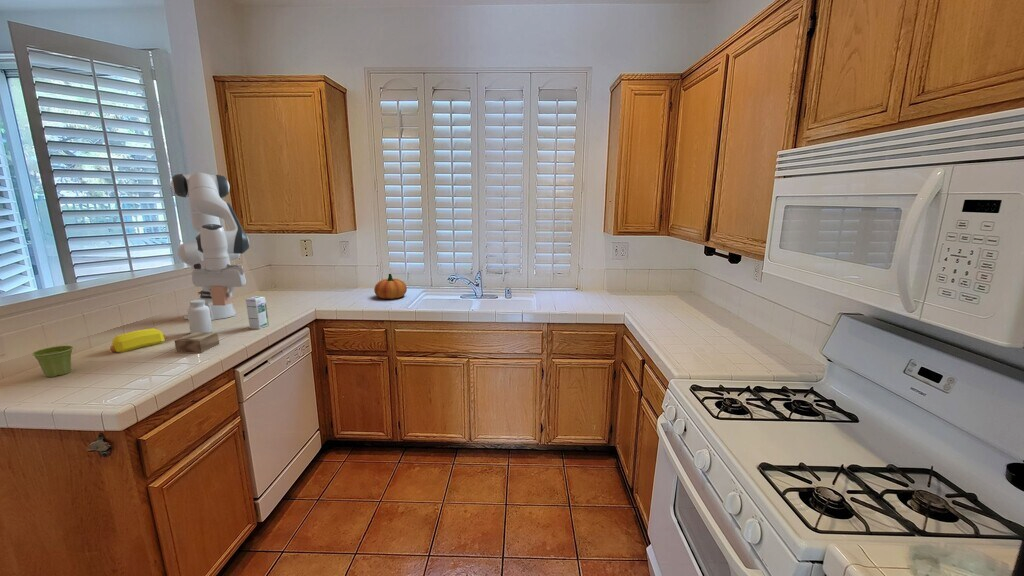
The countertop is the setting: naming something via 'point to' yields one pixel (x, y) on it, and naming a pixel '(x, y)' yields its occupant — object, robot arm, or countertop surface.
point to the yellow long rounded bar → (137, 340)
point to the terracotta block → (220, 295)
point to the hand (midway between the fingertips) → (222, 296)
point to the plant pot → (54, 360)
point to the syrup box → (257, 312)
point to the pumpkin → (390, 288)
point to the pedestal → (196, 342)
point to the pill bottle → (199, 317)
